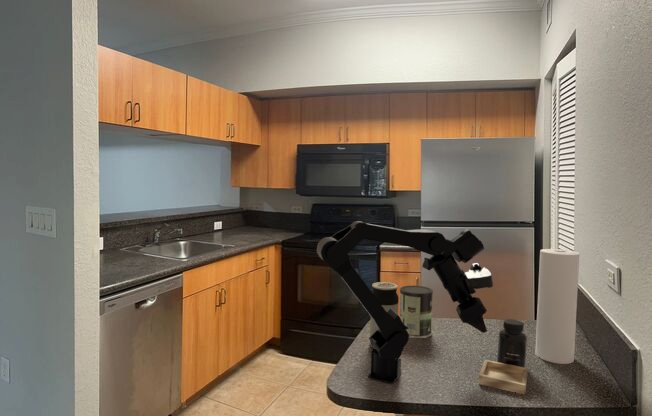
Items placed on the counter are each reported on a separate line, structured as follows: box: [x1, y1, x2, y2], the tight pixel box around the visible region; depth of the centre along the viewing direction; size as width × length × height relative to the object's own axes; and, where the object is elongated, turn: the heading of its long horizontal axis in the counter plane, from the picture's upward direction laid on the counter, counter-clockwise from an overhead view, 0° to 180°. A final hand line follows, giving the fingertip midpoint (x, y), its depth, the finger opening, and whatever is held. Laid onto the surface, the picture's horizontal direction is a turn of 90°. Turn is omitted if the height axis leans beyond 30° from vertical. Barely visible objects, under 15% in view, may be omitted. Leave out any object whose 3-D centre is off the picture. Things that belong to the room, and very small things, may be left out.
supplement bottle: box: [496, 318, 528, 368], centre depth 108 cm, size 7×7×12 cm
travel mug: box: [369, 281, 400, 348], centre depth 121 cm, size 8×8×18 cm
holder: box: [478, 359, 528, 396], centre depth 100 cm, size 10×10×2 cm
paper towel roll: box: [534, 248, 580, 365], centre depth 114 cm, size 9×9×30 cm
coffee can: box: [399, 285, 434, 339], centre depth 131 cm, size 10×10×14 cm
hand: (480, 322), depth 106 cm, fingers open, 9 cm apart
